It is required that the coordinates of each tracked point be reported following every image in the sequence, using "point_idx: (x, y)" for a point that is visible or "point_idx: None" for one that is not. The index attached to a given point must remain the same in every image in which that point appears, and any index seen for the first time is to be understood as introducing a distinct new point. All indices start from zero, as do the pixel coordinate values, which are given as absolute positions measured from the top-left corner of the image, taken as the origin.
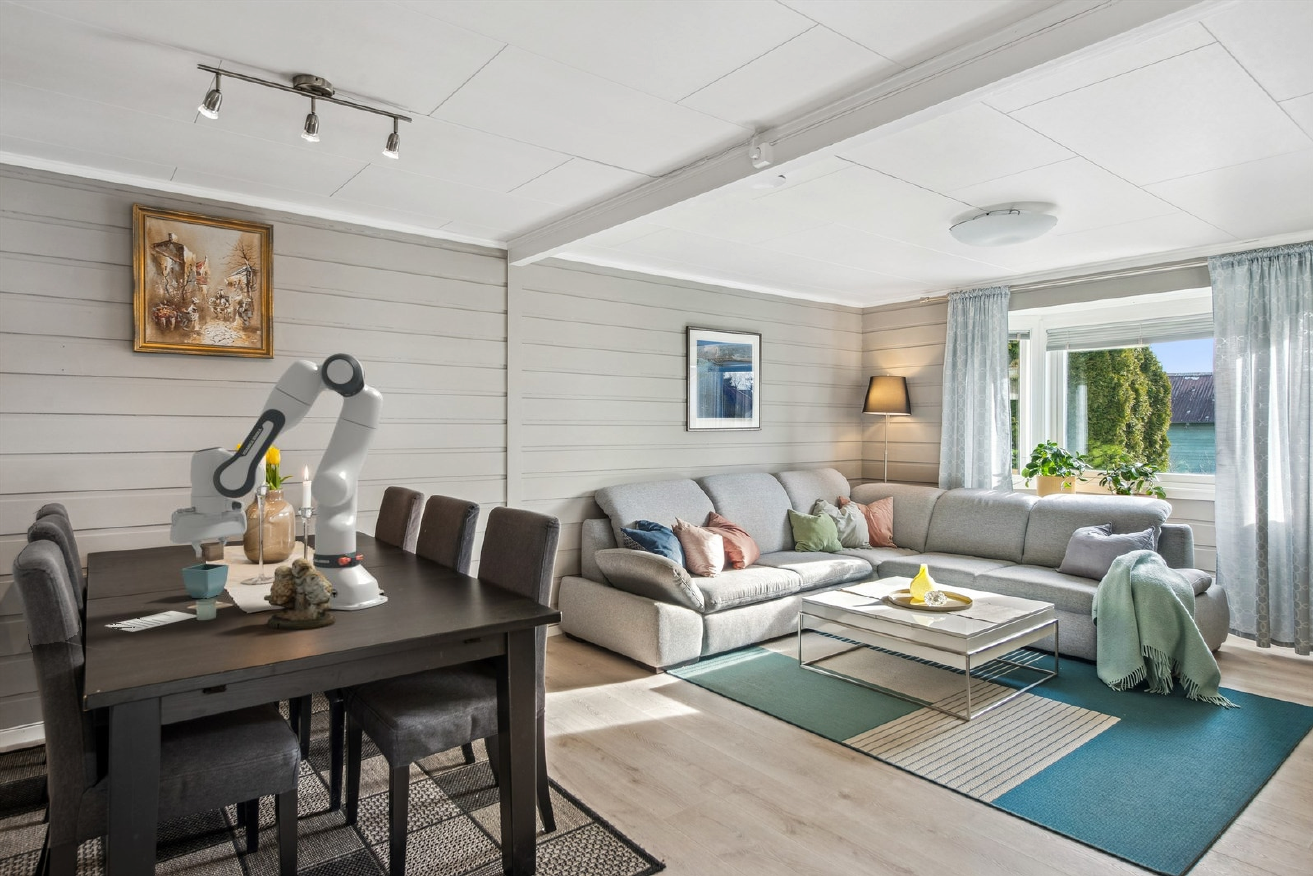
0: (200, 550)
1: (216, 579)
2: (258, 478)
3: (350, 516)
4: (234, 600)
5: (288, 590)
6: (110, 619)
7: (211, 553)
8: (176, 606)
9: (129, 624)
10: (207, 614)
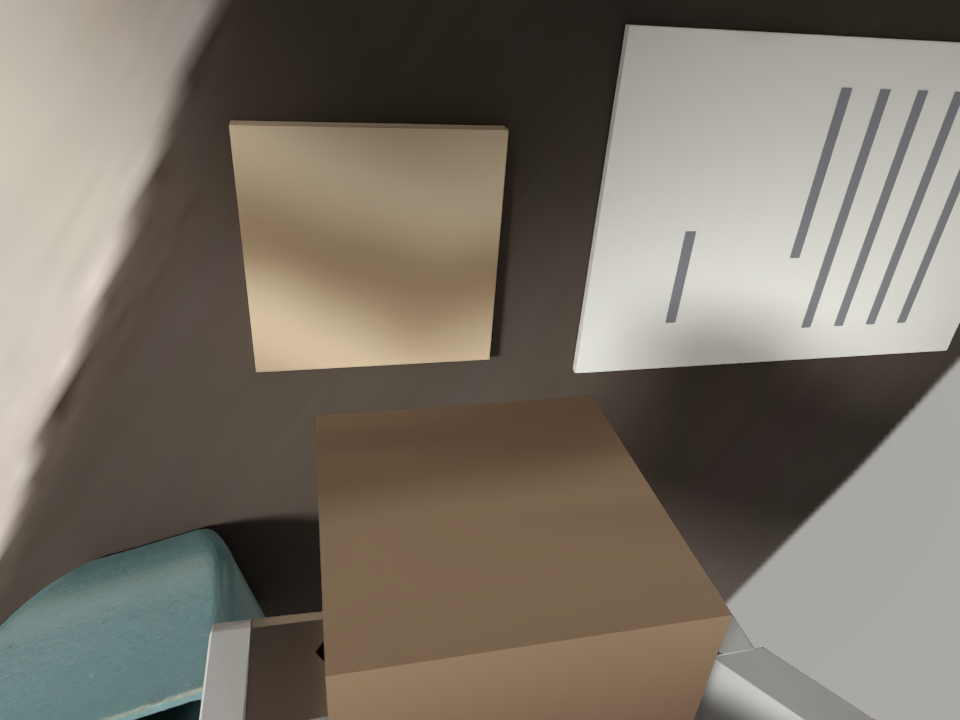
0: (746, 656)
1: (110, 629)
2: None
3: None
4: (90, 325)
5: None
6: (796, 473)
7: (618, 499)
8: None
9: (916, 256)
10: None
